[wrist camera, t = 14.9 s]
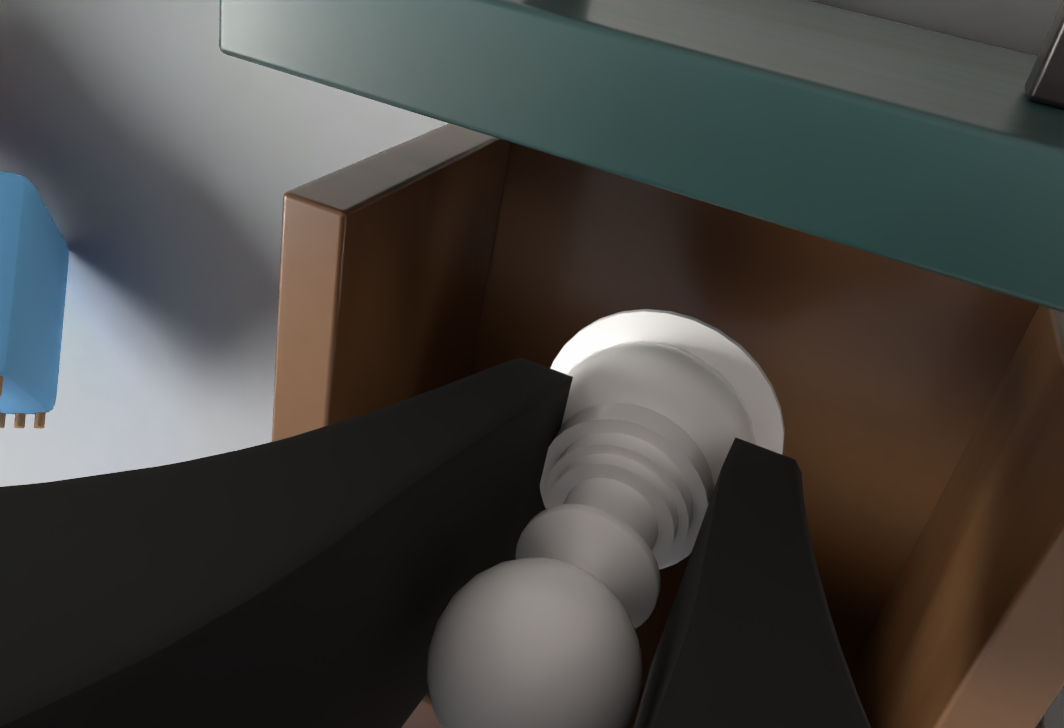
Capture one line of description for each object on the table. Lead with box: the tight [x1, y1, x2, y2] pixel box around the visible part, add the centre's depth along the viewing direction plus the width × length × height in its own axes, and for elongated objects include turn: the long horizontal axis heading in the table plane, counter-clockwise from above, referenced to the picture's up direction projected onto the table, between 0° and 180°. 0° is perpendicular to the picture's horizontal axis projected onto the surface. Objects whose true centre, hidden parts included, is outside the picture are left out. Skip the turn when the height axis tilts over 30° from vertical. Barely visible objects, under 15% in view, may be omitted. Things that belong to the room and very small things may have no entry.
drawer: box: [219, 0, 1064, 728], centre depth 12 cm, size 17×10×6 cm, turn 169°
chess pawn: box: [427, 309, 785, 728], centre depth 9 cm, size 3×3×5 cm
